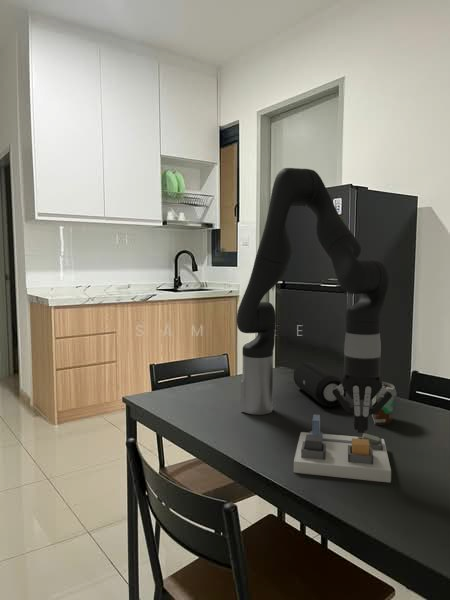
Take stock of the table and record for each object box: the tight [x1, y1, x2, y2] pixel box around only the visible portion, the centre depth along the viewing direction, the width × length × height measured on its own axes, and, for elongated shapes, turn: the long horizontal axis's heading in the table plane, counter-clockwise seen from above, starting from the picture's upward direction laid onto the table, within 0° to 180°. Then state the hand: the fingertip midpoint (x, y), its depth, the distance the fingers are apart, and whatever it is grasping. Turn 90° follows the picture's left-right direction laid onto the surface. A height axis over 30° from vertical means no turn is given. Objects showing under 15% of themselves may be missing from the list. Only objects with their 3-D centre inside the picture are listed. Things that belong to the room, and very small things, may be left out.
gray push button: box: [305, 434, 323, 451], centre depth 106 cm, size 4×4×2 cm
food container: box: [371, 381, 398, 426], centre depth 135 cm, size 12×6×10 cm, turn 168°
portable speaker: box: [293, 361, 347, 408], centre depth 158 cm, size 26×10×10 cm, turn 11°
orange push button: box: [352, 438, 369, 455], centre depth 103 cm, size 4×4×2 cm
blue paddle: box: [309, 414, 324, 436], centre depth 114 cm, size 3×4×5 cm
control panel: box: [293, 431, 392, 483], centre depth 108 cm, size 20×18×4 cm
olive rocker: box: [361, 432, 380, 445], centre depth 111 cm, size 4×3×1 cm
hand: (360, 431), depth 103 cm, fingers closed
